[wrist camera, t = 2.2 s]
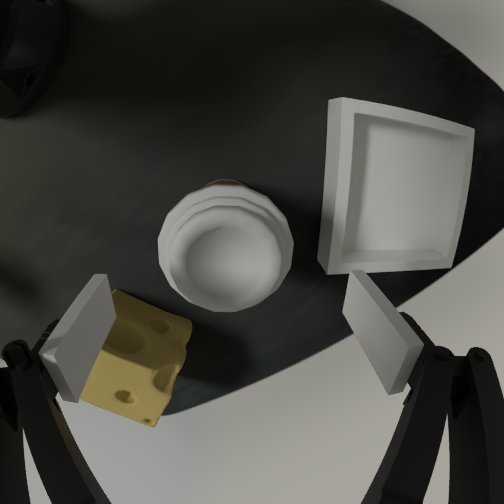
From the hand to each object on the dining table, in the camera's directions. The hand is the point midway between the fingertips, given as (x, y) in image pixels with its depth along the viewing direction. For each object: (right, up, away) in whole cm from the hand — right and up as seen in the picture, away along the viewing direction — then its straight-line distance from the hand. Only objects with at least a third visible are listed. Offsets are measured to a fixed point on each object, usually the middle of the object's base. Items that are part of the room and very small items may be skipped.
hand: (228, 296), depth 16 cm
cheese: (-13, -8, +19) cm, 24 cm away
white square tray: (+17, +9, +14) cm, 24 cm away
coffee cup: (-1, +6, +14) cm, 15 cm away
